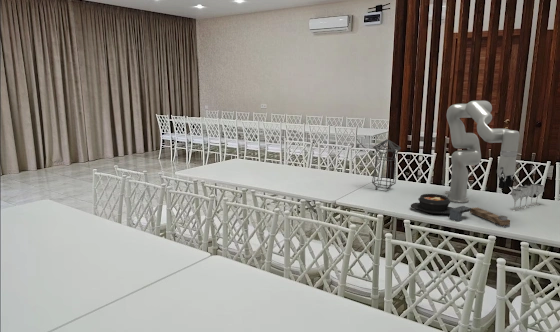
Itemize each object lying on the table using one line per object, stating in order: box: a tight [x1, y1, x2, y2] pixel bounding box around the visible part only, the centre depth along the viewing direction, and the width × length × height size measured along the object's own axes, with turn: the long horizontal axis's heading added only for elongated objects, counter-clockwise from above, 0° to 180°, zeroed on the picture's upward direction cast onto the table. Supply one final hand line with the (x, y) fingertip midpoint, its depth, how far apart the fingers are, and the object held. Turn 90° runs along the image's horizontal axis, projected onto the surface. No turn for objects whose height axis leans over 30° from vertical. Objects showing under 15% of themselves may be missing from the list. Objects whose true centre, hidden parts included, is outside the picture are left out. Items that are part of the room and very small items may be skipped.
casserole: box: [410, 193, 454, 215], centre depth 226 cm, size 25×19×8 cm
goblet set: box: [509, 183, 545, 212], centre depth 235 cm, size 28×6×13 cm, turn 119°
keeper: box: [449, 205, 473, 222], centre depth 214 cm, size 5×12×6 cm, turn 123°
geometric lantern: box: [371, 139, 402, 192], centre depth 271 cm, size 16×16×35 cm
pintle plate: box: [493, 222, 511, 228], centre depth 204 cm, size 7×7×1 cm
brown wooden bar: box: [469, 206, 511, 226], centre depth 212 cm, size 22×5×4 cm, turn 16°
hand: (504, 187), depth 211 cm, fingers open, 5 cm apart
